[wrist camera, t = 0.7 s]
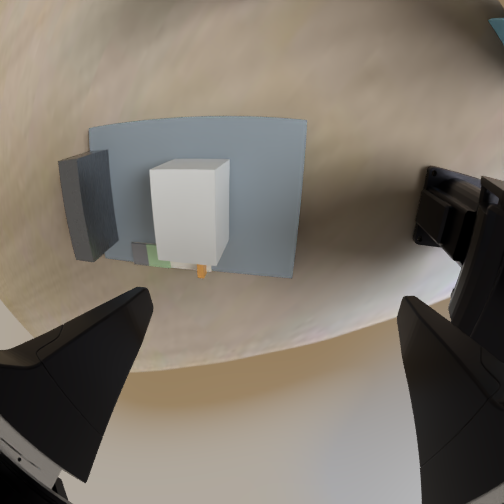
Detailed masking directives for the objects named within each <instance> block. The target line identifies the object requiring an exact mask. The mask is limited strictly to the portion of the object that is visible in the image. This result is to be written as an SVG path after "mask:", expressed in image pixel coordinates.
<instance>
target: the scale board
mask: <svg viewBox="0 0 504 504" xmlns="http://www.w3.org/2000/svg"><path fill="white" fill-rule="evenodd" d="M306 132H307V120H300V119H288V118H273V117H251V116H201V117H179V118H164V119H152V120H142V121H133V122H125V123H118V124H111V125H105V126H99V127H93V128H89V143H90V151H97V150H106V149H108V154H109V167H110V178H111V188H112V197H113V205H114V212H115V219H116V226H117V232H118V238H119V241H118V242H116V243H115V244H114V245H113V246H112V247H111V248H110V249H108V250H107V251H106V252H105V257H106V258H108V259H116V260H124V261H132V262H134V263H135V264H139V265H147V266H155V267H163V268H180V269H189V270H197V264H190V263H181V262H172V261H163V260H158V254H157V247H156V238H155V230H154V220H153V210H152V199H151V186H150V171H149V170H150V169H152V168H154V167H157V166H159V165H161V164H163V163H166V162H168V161H171V160H173V159H230V176H229V241H228V243H227V245H226V247H225V249H224V251H223V253H222V255H221V258H220V260H219V262H218V264H217V266H210V265H206V270H207V272H211V271H220V272H230V273H240V274H250V275H260V276H271V277H282V278H292V276H293V268H294V260H295V251H296V242H297V234H298V224H299V215H300V205H301V194H302V183H303V172H304V159H305V146H306Z"/></svg>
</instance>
